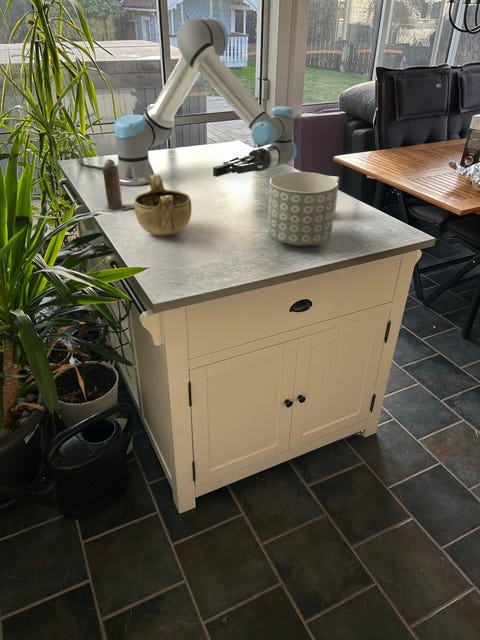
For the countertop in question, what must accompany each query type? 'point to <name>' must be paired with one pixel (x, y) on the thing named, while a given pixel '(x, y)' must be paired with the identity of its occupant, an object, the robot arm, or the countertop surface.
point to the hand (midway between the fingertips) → (214, 172)
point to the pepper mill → (112, 185)
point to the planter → (301, 208)
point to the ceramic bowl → (162, 209)
